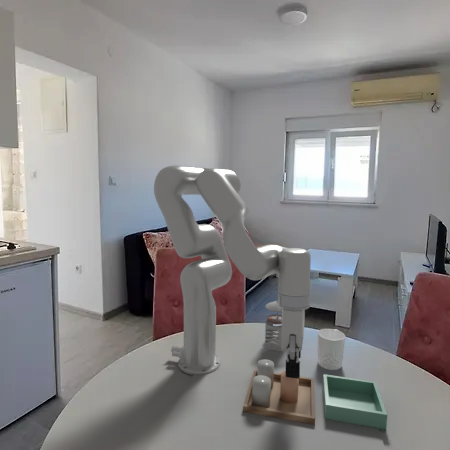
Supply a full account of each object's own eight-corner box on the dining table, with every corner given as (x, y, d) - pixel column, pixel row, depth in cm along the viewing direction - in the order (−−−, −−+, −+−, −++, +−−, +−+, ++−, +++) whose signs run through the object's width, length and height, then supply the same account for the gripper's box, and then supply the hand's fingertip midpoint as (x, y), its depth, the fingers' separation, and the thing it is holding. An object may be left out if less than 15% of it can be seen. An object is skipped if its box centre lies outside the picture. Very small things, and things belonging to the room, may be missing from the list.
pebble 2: (250, 407, 80) (251, 383, 80) (253, 396, 85) (254, 374, 84) (269, 410, 79) (269, 386, 79) (271, 399, 84) (271, 376, 83)
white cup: (345, 374, 97) (347, 341, 95) (316, 371, 98) (318, 338, 97) (341, 360, 104) (343, 330, 103) (315, 357, 106) (316, 327, 105)
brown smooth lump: (279, 401, 83) (280, 378, 82) (280, 391, 87) (281, 369, 86) (297, 404, 82) (298, 381, 81) (298, 394, 86) (299, 372, 85)
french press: (274, 336, 120) (276, 268, 117) (301, 348, 112) (304, 275, 109) (255, 344, 114) (257, 273, 111) (283, 358, 105) (286, 280, 102)
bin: (324, 420, 77) (325, 404, 77) (322, 388, 90) (323, 374, 89) (386, 431, 74) (387, 414, 74) (374, 396, 87) (375, 381, 86)
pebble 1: (255, 388, 88) (256, 366, 88) (258, 378, 92) (258, 358, 92) (272, 390, 87) (273, 369, 86) (274, 381, 91) (275, 360, 91)
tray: (242, 413, 79) (243, 406, 79) (253, 376, 95) (254, 369, 95) (314, 427, 75) (315, 418, 75) (313, 385, 91) (314, 378, 91)
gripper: (281, 288, 91) (280, 349, 92) (275, 310, 74) (274, 384, 76) (309, 290, 89) (309, 352, 90) (310, 313, 72) (309, 388, 74)
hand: (293, 366), depth 83 cm, fingers open, 9 cm apart
